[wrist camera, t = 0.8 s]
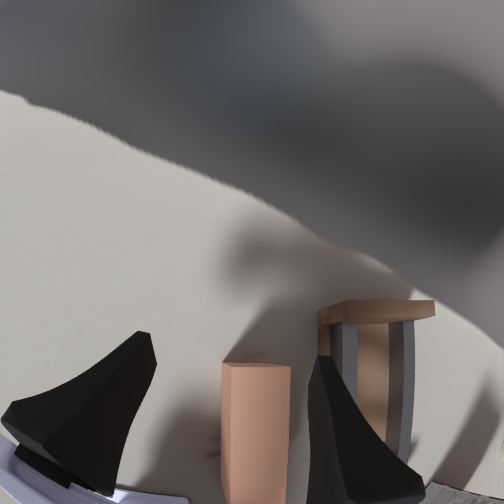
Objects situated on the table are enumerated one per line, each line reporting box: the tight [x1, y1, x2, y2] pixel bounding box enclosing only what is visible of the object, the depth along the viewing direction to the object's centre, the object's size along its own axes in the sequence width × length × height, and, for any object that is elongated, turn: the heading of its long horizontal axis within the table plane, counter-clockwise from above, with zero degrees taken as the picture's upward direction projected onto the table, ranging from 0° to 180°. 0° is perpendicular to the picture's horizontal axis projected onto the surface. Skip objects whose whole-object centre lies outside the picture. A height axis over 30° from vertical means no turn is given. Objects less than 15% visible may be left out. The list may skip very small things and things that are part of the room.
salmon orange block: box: [221, 362, 291, 504], centre depth 20 cm, size 12×4×7 cm, turn 179°
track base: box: [318, 300, 435, 504], centre depth 22 cm, size 22×10×6 cm, turn 179°
